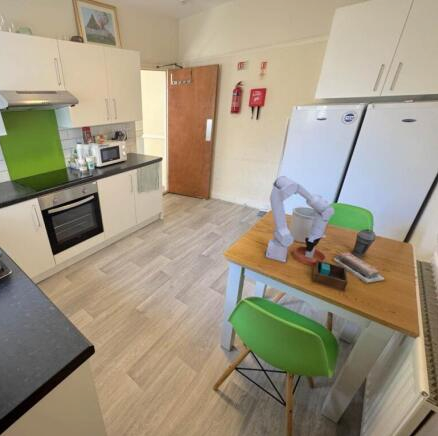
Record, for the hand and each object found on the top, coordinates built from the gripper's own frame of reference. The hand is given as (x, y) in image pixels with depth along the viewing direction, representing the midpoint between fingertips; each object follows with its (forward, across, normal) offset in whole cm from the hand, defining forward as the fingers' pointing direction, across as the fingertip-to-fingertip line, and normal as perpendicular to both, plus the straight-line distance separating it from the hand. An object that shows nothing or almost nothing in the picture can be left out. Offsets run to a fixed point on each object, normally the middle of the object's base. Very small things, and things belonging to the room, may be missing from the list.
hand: (311, 248), depth 125 cm
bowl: (+5, -3, -1) cm, 6 cm away
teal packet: (+4, -13, -10) cm, 17 cm away
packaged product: (+5, +4, -20) cm, 21 cm away
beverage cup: (+5, +19, -18) cm, 26 cm away
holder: (+5, -14, -12) cm, 19 cm away
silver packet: (+4, 0, 0) cm, 4 cm away
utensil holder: (+5, +17, +10) cm, 20 cm away
